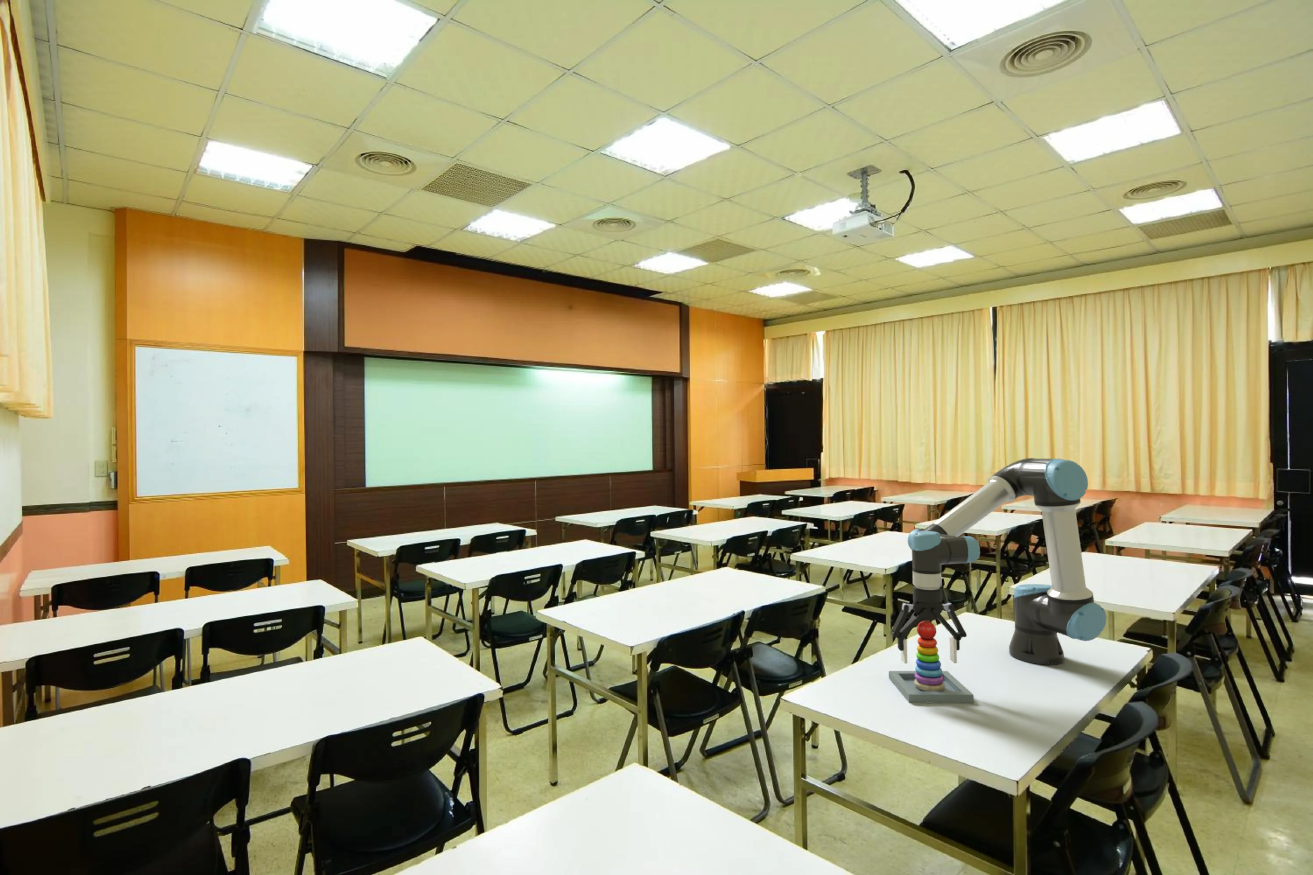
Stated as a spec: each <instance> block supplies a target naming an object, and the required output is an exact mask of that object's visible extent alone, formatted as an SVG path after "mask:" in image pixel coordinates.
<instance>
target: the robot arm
mask: <svg viewBox="0 0 1313 875" xmlns="http://www.w3.org/2000/svg"><path fill="white" fill-rule="evenodd" d="M1088 487H1089V480H1088V476H1087V474H1086V471H1085V470H1084V468H1083V467H1082V466H1081V465H1080V464H1078V463H1077V462H1075V461H1073V460H1070V459H1062V458H1035V457H1034V458H1033V457H1031V458H1022V459H1019V460H1016V461H1014V462H1012V463H1009V464H1008V465H1006V466H1005V467H1003V468H1001V469H999V470H998V471H997V472H995V473H994V474H993V475H991V476H990V477H989V478H988V479H987V483H986V484H985V485H984V486H982V487H981V488H978V490H976V491H975V492H974V493H972V494H971V495H970V496H968V497H966V498H965V499H963V501H961V502H960V503H959V504H957V505H956V506H954V507H953V508H952V509H950V510H949V511H948V512H946V513H945V514H944V515H942V516H941V517H939V518H938V519H937V520H935V521H934V522H933V523H931V524H929V526H927V527H926V528H918V529H917V528H916V529H913V530H912V531H911V532H910V533H909V534H908V537H907V545H908V547H909V549H910V550H911V559H912V560H911V563H912V564H911V565H912V584H913V585H914V586H913V587H912V601H913V602H912V604H911V603H910V604H909V603H906V602H902V603H901V607H900V612H899V614H898V616H897V618H896V620H895V623H894V624H893V626H892V629H891V630H890V635H891V636H892V637H893V638H896V639H897V649H898V650H899V651H901V652H900V656H901V658H900V659H901V661H902V663H904V664H908V640H907V639H906V637H907V636H908V634H909V633H910V632H911V631H912V630H913V628H914V627H915V626H916V625H918V624H919V623H920V622H921V620H922V621H935V620H937V621H938V622H940V624H941V625H942V626H943V627H944V628H945V629H946V630H947V632H949V634H950V635H951V636H949V660H950V661H951V662H952V663H953V664H957V663H958V654H957V653H958V651H960V649H961V647H960V646H961V645H960V643H961V642H960V641H961V640H962V638H966V637H967V636H968V635H967V632H966V631H965V630H966V629H964V627H963V624H962V622H961V621H960V620H959V618H958V616H957V614H956V611H955V605H954V604H952V603H951V602H946V603H943V589H942V588H941V587H942V586H943V583H942V566H943V565H955V564H964V565H965V564H968V563H974V562H976V561H977V560H978V559H979V557H980V555H981V551H980V550H981V547H980V544H979V542H978V541H977V540H976V538H974V537H972V536H970V535H969V536H965V535H963V534H964V533H966V532H967V531H968V530H969V529H971V528H972V527H974V526H975V525H976V524H978V523H980V521H982V520H983V519H985V518H986V517H987V516H989V514H992V512H994V511H995V510H997V509H998V508H999V507H1001V506H1003V504H1005V503H1011V502H1013V501H1014V500H1016V499H1017V498H1019V497H1023V496H1031V497H1033V502H1034V506H1036V508H1038V509H1040V511H1041V518H1042V522H1043V531H1044V538H1045V545H1046V546H1045V547H1046V552H1047V559H1048V565H1049V566H1048V567H1049V574H1050V581H1051V584H1044V583H1043V584H1041V583H1032V584H1031V583H1029V584H1028V583H1026V584H1019V585H1017V586H1015V587H1014V592H1013V593H1014V594H1013V595H1014V596H1013V607H1014V608H1013V609H1014V613H1013V614H1014V630H1013V631H1014V632H1013V634H1012V637H1011V640H1010V643H1009V645H1008V654H1009V655H1010V656H1012V657H1013V658H1015V659H1017V660H1020V661H1023V662H1027V663H1032V664H1037V665H1046V666H1047V665H1050V666H1051V665H1059V664H1063V663H1064V662H1065V653H1064V649H1063V647H1062V645H1061V641H1060V639H1059V637H1058V634H1060V635H1063V636H1066V637H1068V638H1070V639H1073V640H1078V641H1083V642H1089V641H1092V640H1095V639H1096V638H1098V637H1099V636H1100V635H1101V633H1102V632H1103V631H1104V629H1105V626H1106V623H1107V614H1106V610H1105V609H1104V608H1103V607H1102V606H1101V605H1100V604H1098V603H1096V602H1095V598H1094V592H1093V591H1092V590H1090V589H1089V588H1088V587H1087V584H1086V577H1085V570H1084V564H1083V557H1082V556H1083V555H1082V548H1081V540H1080V533H1079V526H1078V520H1077V512H1076V509H1077V507H1078V506H1079V505H1080V504H1081V498H1083V497H1084V496H1085V494H1086V493H1087V492H1086V491H1087V490H1088ZM911 610H913V611H914V612H913V613H912V615H911V616H910V618H909V619H908V621H906V620H907V617H908V616H909V613H910V612H911ZM944 610H945V611H946V612H947V614H948V616H949V618H950V619H951V621H952V624H954V627H955V628H956V630H957V631H956V630H955V629H954V628H953V627H952V625H950V624H949V622H948V621H947V620H946V619H945V618H944V616H943V615H942V612H943V611H944ZM905 622H906V623H905ZM904 623H905V624H904Z"/></svg>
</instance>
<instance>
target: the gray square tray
mask: <svg viewBox="0 0 1313 875" xmlns="http://www.w3.org/2000/svg"><path fill="white" fill-rule="evenodd" d="M915 673H916V670H888V679H889V680H890V681H891V683H892V684H893V685H894V687H896V689H897V690H898V691H899V692H900V693H901V695H902V696H903V697H904V698H905V700H906V701H907V702H908V703H913V704H914V703H915V704H916V703H920V704H921V703H922V704H926V703H927V704H928V703H929V704H931V703H933V704H936V703H937V704H941V703H945V704H946V703H948V704H949V703H950V704H955V703H956V704H973V703H974V699H975V698H974V697H975V696H974V694H973V693H972V691H970V690H969V689H968V688H967V687H966V686H964V684H962V683H961V682H960V681H959V680H958V679H957V678H956V677H954V675H953V674H951V673H950V672H949V671H948V670H942V676H943V678H944V681H943V683H944V685H945V688H944V690H942V691H940V692H929V691H923V690H920V689H918V688H917V687H916V686H915V684H914V681H915Z"/></svg>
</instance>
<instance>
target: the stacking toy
mask: <svg viewBox="0 0 1313 875" xmlns="http://www.w3.org/2000/svg"><path fill="white" fill-rule="evenodd" d="M916 632H917V634H918V636H919V637H918V638H917V644H918V645H917V647H916V650H917V652H916V658H917V659H916V660H915V664H916V665H915V669H914V671H916V673H915V681H914V684H915V686H916V687H917V688H918V689H920V690H923V691H929V692H940V691H942V690H944V688H945V685H944V683H943V681H944V678H943V676H942V671H943V669H942V663H941V661H940V656H939V654H938V653H939V648H938V647H937V645H938V640H936V638H935V637H936V635H937V628H936V625H935V624H934V623H932V622H931V621H930V620H922V621H919V622H918V623H917V627H916Z"/></svg>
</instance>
